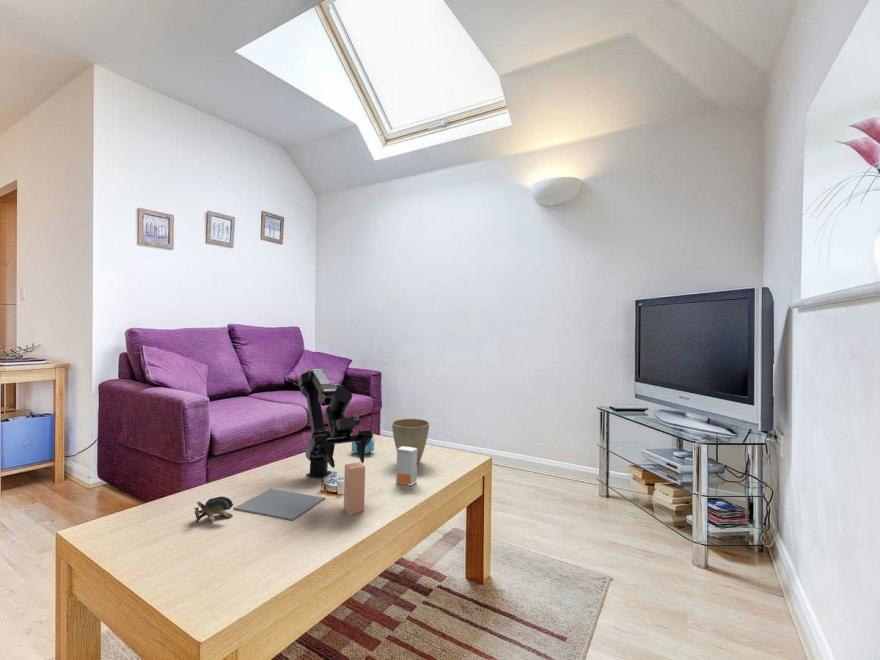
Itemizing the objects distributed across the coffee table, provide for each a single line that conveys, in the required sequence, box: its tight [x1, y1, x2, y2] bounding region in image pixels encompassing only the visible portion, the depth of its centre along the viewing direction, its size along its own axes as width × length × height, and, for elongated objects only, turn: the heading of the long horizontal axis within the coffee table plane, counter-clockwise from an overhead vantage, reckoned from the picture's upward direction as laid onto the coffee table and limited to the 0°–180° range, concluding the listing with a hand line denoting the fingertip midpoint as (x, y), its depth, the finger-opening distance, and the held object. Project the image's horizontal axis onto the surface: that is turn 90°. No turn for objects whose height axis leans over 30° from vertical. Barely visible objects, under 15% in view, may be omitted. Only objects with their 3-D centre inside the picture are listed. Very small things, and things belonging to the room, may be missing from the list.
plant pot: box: [391, 418, 430, 463], centre depth 171 cm, size 15×15×16 cm
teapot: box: [350, 434, 375, 455], centre depth 183 cm, size 12×6×8 cm, turn 64°
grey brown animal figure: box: [193, 495, 234, 524], centre depth 118 cm, size 8×7×9 cm
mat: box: [233, 488, 326, 521], centre depth 129 cm, size 16×20×1 cm
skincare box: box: [395, 446, 418, 485], centre depth 149 cm, size 6×4×12 cm
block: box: [343, 461, 366, 515], centre depth 126 cm, size 4×4×13 cm
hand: (348, 464), depth 130 cm, fingers open, 9 cm apart
